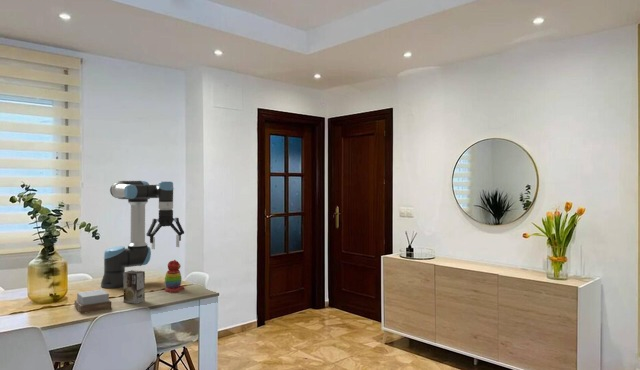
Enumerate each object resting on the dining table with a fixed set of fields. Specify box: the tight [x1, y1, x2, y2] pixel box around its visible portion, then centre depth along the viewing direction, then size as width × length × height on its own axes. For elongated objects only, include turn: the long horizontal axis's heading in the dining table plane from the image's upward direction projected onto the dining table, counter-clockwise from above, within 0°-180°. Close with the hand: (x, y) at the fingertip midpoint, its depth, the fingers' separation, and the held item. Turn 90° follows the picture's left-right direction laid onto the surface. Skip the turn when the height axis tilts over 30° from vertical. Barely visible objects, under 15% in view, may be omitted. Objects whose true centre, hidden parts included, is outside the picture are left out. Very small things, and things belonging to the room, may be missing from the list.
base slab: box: [74, 299, 112, 314], centre depth 227 cm, size 14×14×4 cm
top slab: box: [76, 288, 110, 306], centre depth 227 cm, size 12×12×4 cm
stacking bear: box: [164, 259, 186, 294], centre depth 264 cm, size 11×10×18 cm
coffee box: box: [123, 270, 146, 304], centre depth 239 cm, size 9×6×16 cm
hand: (165, 248), depth 245 cm, fingers open, 13 cm apart
